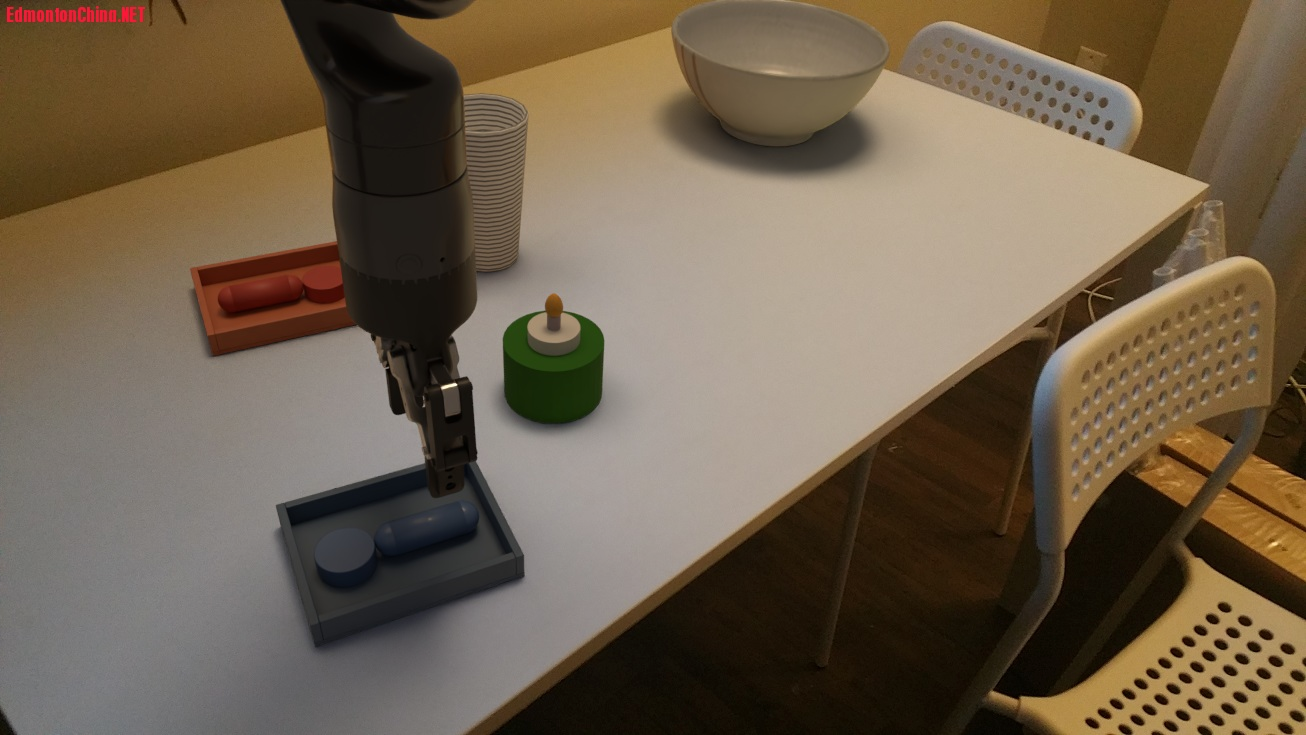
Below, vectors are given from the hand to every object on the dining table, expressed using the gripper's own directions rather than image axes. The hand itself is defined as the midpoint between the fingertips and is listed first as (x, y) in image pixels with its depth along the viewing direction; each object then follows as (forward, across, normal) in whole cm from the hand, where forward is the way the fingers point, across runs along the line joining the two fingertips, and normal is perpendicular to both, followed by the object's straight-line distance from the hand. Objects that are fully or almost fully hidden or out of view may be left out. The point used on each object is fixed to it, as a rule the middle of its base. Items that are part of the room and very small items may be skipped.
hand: (425, 448), depth 65 cm
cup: (+9, +33, -16) cm, 38 cm away
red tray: (+9, +32, +4) cm, 34 cm away
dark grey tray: (+8, 0, +2) cm, 9 cm away
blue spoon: (+8, -1, +2) cm, 8 cm away
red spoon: (+8, +33, +4) cm, 34 cm away
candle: (+9, +11, -14) cm, 20 cm away
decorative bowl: (+8, +50, -60) cm, 79 cm away
